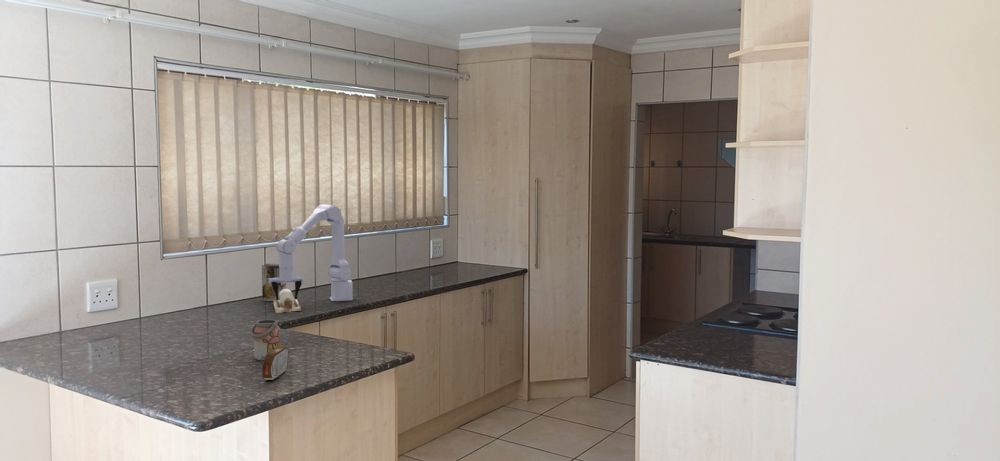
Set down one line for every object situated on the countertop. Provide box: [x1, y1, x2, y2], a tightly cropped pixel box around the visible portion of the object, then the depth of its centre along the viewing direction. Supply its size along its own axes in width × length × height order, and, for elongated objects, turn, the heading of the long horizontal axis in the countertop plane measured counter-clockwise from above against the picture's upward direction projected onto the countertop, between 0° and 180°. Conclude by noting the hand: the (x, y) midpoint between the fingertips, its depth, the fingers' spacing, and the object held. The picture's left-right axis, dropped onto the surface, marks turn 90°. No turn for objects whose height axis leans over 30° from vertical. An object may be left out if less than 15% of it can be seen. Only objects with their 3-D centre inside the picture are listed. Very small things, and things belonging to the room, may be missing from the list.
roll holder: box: [272, 298, 302, 314], centre depth 314 cm, size 10×20×4 cm, turn 20°
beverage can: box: [249, 318, 281, 359], centre depth 235 cm, size 9×8×12 cm
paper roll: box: [279, 288, 295, 306], centre depth 313 cm, size 6×13×6 cm, turn 20°
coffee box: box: [261, 263, 287, 302], centre depth 330 cm, size 9×6×16 cm
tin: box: [261, 345, 290, 379], centre depth 216 cm, size 15×3×8 cm, turn 176°
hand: (286, 299), depth 314 cm, fingers open, 7 cm apart
